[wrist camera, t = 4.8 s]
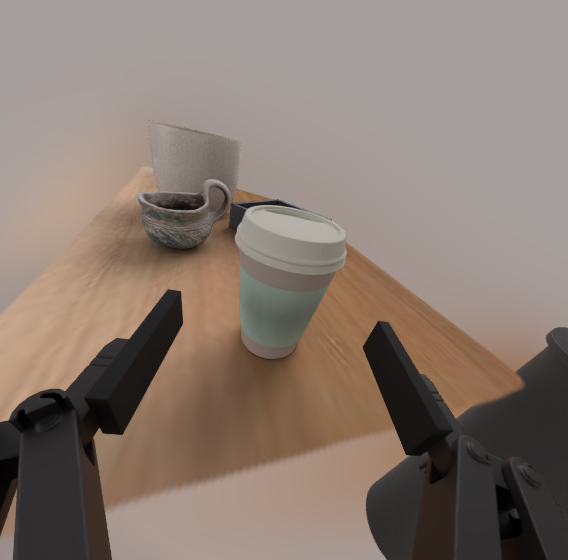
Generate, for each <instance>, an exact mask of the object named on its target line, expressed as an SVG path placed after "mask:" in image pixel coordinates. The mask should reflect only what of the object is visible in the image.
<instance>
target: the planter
mask: <svg viewBox="0 0 568 560" xmlns="http://www.w3.org/2000/svg"><path fill="white" fill-rule="evenodd" d="M147 127H148V135H149V142H150V149H151V157H152V164H153V171H154V176H155V181H156V185H157V188H158V191H159V192H163V191H164V192H189V193H198V192H200V190H201V187H202V184H203V183H204V182H205V181H206V180H210V179H214V180H218V181H220V182H222V183H223V184H225V185H226V187H227V188H228V190H229V192H230V195H231V202H230V206H231V203H233V201H234V198H235V194H236V189H237V182H238V174H239V165H240V155H241V144H242V143H241V142H240V141H237V140H234V139H230V138H226V137H222V136H218V135H214V134H210V133H205V132H201V131H197V130H192V129H188V128H184V127H180V126H175V125H170V124H166V123H161V122H155V121H151V120H147ZM208 199H209V207H208V211H209V212H215V211H217V210H218V209H220V207H221V206H222V204H223V202H224V200H225V195H224V193H223V192H222V191H221V190H220V189H219V188H216V187H211V189H210V191H209V193H208ZM230 206H229V207H230Z"/></svg>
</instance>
